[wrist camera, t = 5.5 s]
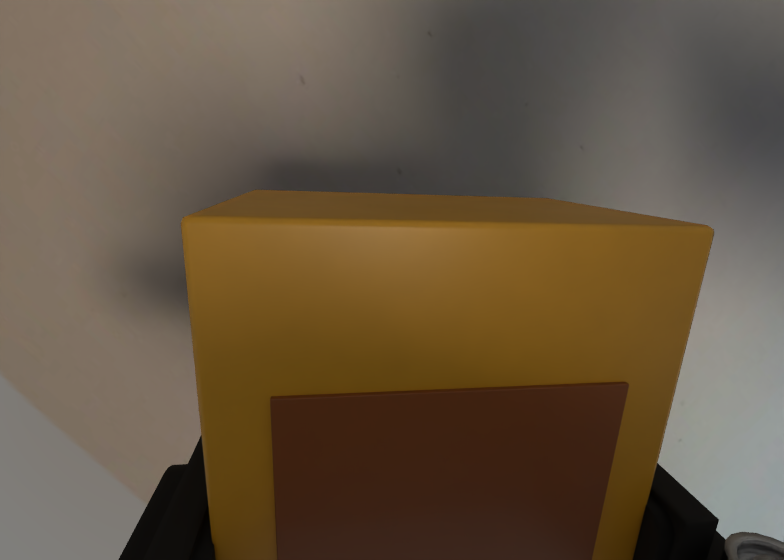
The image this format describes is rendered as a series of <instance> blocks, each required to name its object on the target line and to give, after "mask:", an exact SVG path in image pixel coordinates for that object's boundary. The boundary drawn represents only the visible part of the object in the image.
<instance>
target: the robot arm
mask: <svg viewBox="0 0 784 560" xmlns="http://www.w3.org/2000/svg"><path fill="white" fill-rule="evenodd" d="M718 521H719V519H717V518H716V517H715V516H714V515H713V514H712V513H711V512H710V511H709V510H708V509H707V508H706V507H704V506H703V505H702V504H701V503H700V502H699V501H698V500H697V499H696V498H695V497H694V496H693V495H691V494H690V493H689V492H688V491H687V490H686V489H685V488H684V487H683V486H682V485H681V484H680V483H678V482H677V481H676V480H675V479H674V478H673V477H672V476H671V475H670V474H669V473H668V472H666V471H665V470H664V469H663V468H662V467H661V466H660V465H659V464H658V463H657V466H656V470H655V474H654V478H653V482H652V486H651V490H650V494H649V498H648V502H647V505H646V507H645V511H644V515H643V519H642V523H641V527H640V531H639V535H638V540H637V544H636V548H635V552H634V556H633V560H784V543H783V542H781V541H779V540H777V539H774V538H771V537H768V536H764V535H761V534H757V533H749V532H739V533H734V534H731V535H730V536H729V537H728V538H727V539H726V540H725V539H724V538H723V537H722V536H721V535H720V534H719V533H718V532H717V531H716V528H717V525H718ZM119 560H216V559H215V549H214V544H213V543H212V537H211V527H210V517H209V507H208V496H207V486H206V476H205V466H204V456H203V445H202V435H201V437H200V439H199V441H198V443H197V446H196V448H195V450H194V452H193V454H192V456H191V458H190V461H189V463H188V464H183V465H172V466H170V467H168V469H167V470H166V472H165V473H164V475H163V477H162V478H161V480H160V482H159V484H158V486H157V488H156V490H155V492H154V494H153V496H152V497H151V499H150V501H149V503H148V505H147V507H146V509H145V511H144V513H143V514H142V516H141V518H140V520H139V522H138V524H137V526H136V528H135V530H134V532H133V533H132V535H131V537H130V539H129V541H128V543H127V545H126V547H125V549H124V550H123V552H122V554H121V556H120V558H119Z"/></svg>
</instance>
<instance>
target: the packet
mask: <svg viewBox="0 0 784 560" xmlns="http://www.w3.org/2000/svg"><path fill="white" fill-rule="evenodd" d="M181 231H182V241H183V251H184V262H185V272H186V282H187V292H188V302H189V313H190V323H191V333H192V343H193V353H194V364H195V374H196V384H197V394H198V404H199V415H200V425H201V435H202V445H203V456H204V466H205V476H206V486H207V496H208V507H209V517H210V527H211V537H212V543H213V544H214V549H215V559H216V560H633V556H634V552H635V548H636V544H637V540H638V535H639V531H640V527H641V523H642V519H643V515H644V511H645V507H646V505H647V502H648V498H649V494H650V490H651V486H652V482H653V478H654V474H655V470H656V466H657V462H658V458H659V454H660V450H661V446H662V442H663V438H664V433H665V429H666V425H667V421H668V417H669V413H670V409H671V405H672V401H673V397H674V393H675V389H676V385H677V381H678V377H679V373H680V369H681V365H682V361H683V357H684V353H685V349H686V345H687V341H688V337H689V333H690V329H691V325H692V321H693V317H694V313H695V309H696V305H697V300H698V296H699V292H700V288H701V284H702V280H703V276H704V272H705V268H706V264H707V260H708V256H709V252H710V248H711V244H712V240H713V236H714V229H712V228H711V227H709V226H707V225H702V224H696V223H690V222H684V221H678V220H673V219H667V218H661V217H655V216H649V215H643V214H637V213H631V212H625V211H620V210H614V209H608V208H602V207H596V206H590V205H584V204H578V203H572V202H566V201H561V200H555V199H549V198H521V197H487V196H453V195H419V194H385V193H350V192H316V191H282V190H253V191H251V192H248V193H245V194H243V195H240V196H237V197H235V198H232V199H230V200H227V201H224V202H222V203H219V204H217V205H214V206H211V207H209V208H206V209H203V210H201V211H198V212H196V213H193V214H190V215H188V216H185V217H183V219H182V222H181Z"/></svg>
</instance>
